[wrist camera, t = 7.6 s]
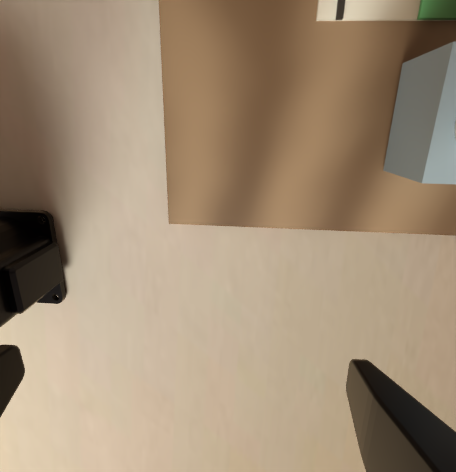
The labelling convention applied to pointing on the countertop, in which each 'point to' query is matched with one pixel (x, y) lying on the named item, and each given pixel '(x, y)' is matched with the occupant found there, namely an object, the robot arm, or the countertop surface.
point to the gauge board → (295, 113)
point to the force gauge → (425, 119)
